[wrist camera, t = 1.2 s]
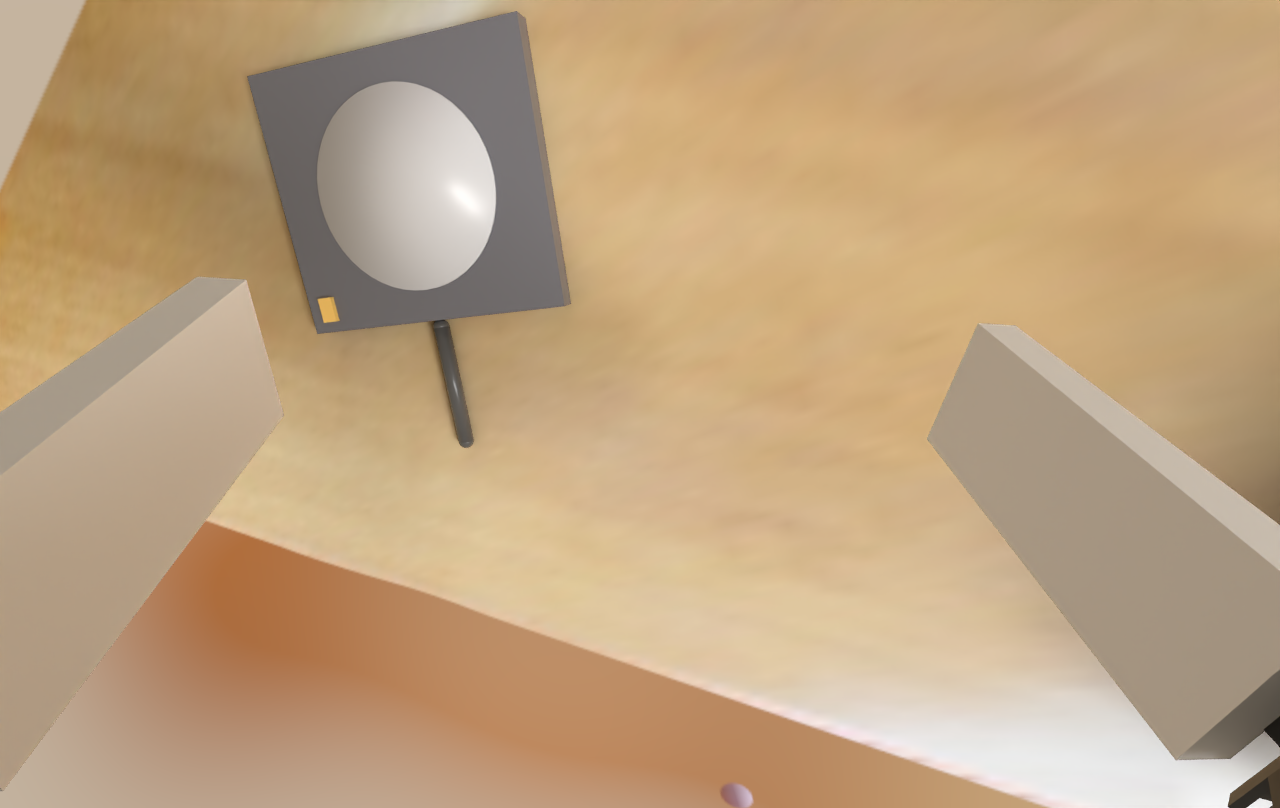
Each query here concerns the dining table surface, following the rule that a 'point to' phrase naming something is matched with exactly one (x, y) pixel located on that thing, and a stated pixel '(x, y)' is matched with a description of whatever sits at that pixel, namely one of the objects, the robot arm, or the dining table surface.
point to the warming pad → (417, 183)
